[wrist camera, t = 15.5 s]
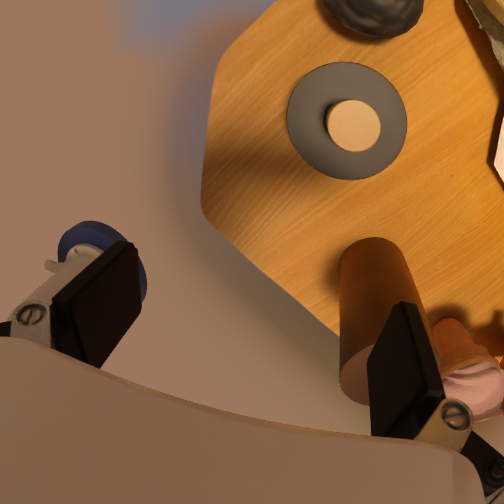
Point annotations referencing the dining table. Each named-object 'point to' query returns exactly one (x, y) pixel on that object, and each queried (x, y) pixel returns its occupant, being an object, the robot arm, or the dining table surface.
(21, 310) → the robot arm
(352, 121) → the lid
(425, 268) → the dining table surface
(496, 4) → the sculpture
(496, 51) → the rock
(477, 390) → the ice cream cone
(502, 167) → the plate
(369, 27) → the decorative stone
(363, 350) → the cylinder
